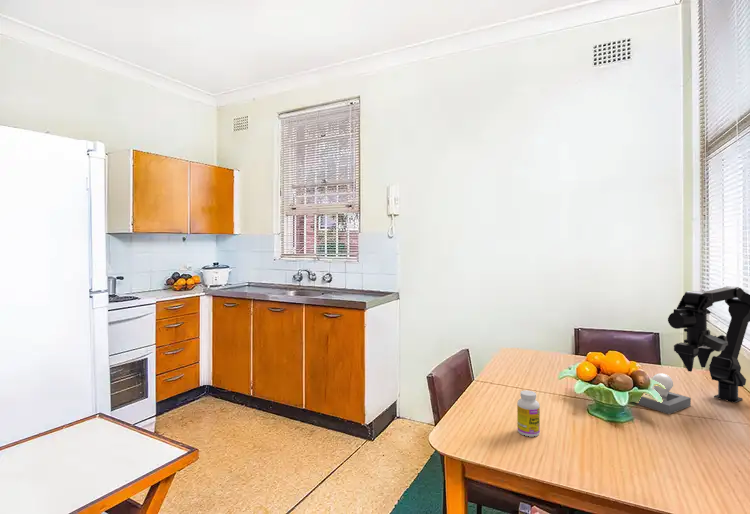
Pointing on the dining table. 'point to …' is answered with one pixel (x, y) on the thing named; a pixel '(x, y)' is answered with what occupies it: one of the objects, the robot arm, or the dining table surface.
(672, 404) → the socket block
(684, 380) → the dining table surface
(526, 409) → the supplement bottle
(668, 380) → the lightbulb
